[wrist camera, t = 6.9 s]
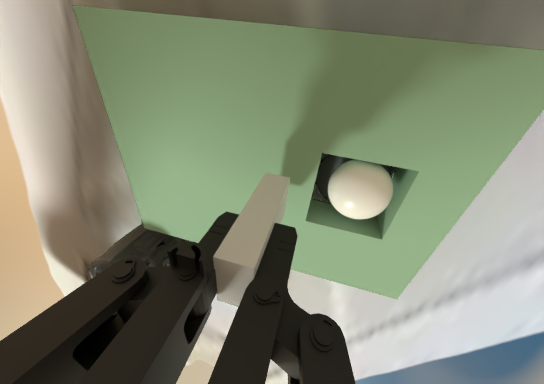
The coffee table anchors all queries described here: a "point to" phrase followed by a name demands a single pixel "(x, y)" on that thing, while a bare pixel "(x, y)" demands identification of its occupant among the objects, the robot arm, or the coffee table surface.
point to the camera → (137, 249)
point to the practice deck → (308, 128)
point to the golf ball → (360, 189)
